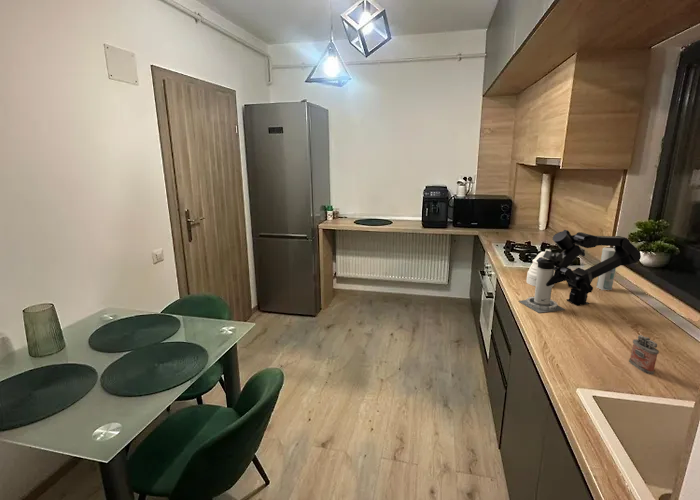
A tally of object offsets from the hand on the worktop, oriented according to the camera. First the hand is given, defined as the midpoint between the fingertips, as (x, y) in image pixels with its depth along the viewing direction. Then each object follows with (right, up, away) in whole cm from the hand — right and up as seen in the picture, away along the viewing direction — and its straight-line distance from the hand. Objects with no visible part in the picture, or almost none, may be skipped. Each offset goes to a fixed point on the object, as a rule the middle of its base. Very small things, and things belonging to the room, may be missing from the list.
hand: (541, 283), depth 163 cm
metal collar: (+1, -10, +3) cm, 11 cm away
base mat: (+1, -10, +3) cm, 11 cm away
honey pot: (+15, -3, +31) cm, 34 cm away
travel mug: (+2, -10, +3) cm, 10 cm away
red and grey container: (+9, -23, -44) cm, 50 cm away
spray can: (+42, -5, +22) cm, 48 cm away
